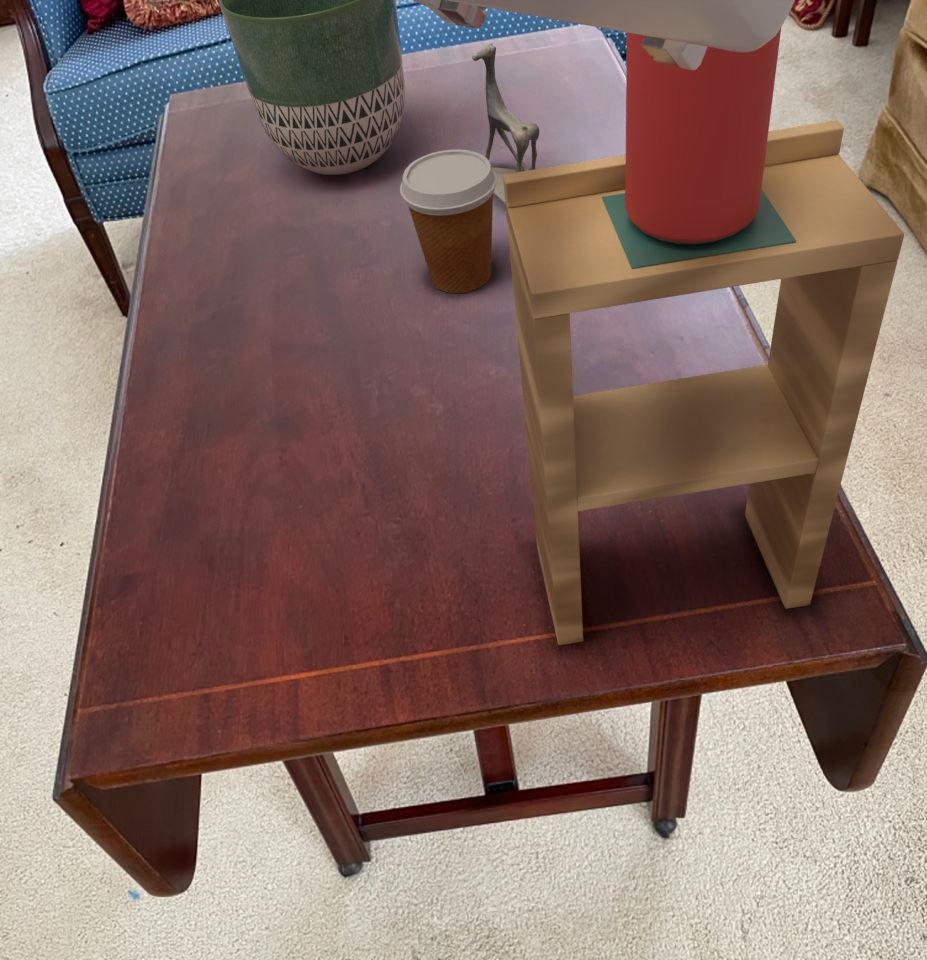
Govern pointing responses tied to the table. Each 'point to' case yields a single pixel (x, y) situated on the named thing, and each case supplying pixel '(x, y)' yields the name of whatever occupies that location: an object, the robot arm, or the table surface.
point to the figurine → (505, 123)
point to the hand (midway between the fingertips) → (573, 25)
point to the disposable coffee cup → (452, 216)
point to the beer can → (697, 141)
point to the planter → (322, 77)
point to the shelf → (712, 397)
